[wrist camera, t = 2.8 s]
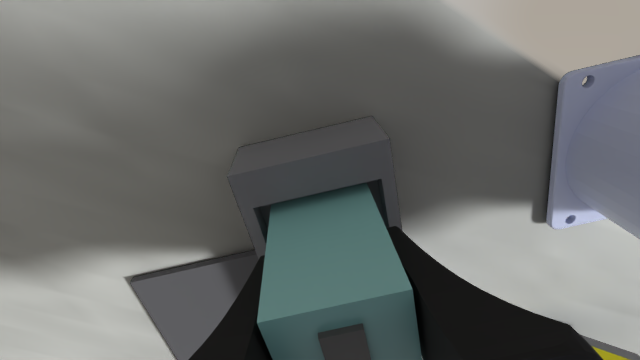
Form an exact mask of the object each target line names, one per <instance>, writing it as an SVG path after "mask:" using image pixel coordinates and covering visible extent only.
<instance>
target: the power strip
mask: <svg viewBox="0 0 640 360" xmlns="http://www.w3.org/2000/svg"><path fill="white" fill-rule="evenodd" d="M227 178H228V180H229V183H230V186H231V188H232V191H233V193H234V196H235V199H236V201H237V204H238V207H239V209H240V212H241V214H242V217H243V220H244V222H245V225H246V227H247V230H248V233H249V235H250V238H251V240H252V243H253V246H254V248H255V251H256V254H257V256H258V259H259V258H260V257H261V256H263V255H265V251H266V243H267V234H268V226H269V218H270V209H271V204H275V203H279V202H284V201H288V200H292V199H297V198H301V197H305V196H310V195H314V194H319V193H323V192H327V191H332V190H336V189H340V188H345V187H349V186H354V185H358V184H362V183H367V185H368V187H369V189H370V192H371V194H372V196H373V199H374V201H375V203H376V206H377V208H378V210H379V212H380V215H381V217H382V219H383V222H384V224H385V226H386V228H388V227H393V226H397V227H399V228H400V229H401V230H402V225H401V218H400V211H399V203H398V196H397V189H396V181H395V174H394V167H393V160H392V152H391V145H390V138H389V137H388V136H387V135H386V133H385V132H384V131H383V129H382V128H381V127H380V126H379V124H378V123H377V122H376V120H375V119H374V118H373V116H371V117H366V118H362V119H358V120H354V121H349V122H345V123H341V124H337V125H332V126H328V127H324V128H320V129H315V130H311V131H307V132H303V133H298V134H294V135H290V136H286V137H281V138H277V139H273V140H269V141H264V142H260V143H256V144H252V145H248V146H243V147H239V149H238V151H237V153H236V156H235V158H234V161H233V163H232V166H231V168H230V170H229V173H228V175H227Z"/></svg>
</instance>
